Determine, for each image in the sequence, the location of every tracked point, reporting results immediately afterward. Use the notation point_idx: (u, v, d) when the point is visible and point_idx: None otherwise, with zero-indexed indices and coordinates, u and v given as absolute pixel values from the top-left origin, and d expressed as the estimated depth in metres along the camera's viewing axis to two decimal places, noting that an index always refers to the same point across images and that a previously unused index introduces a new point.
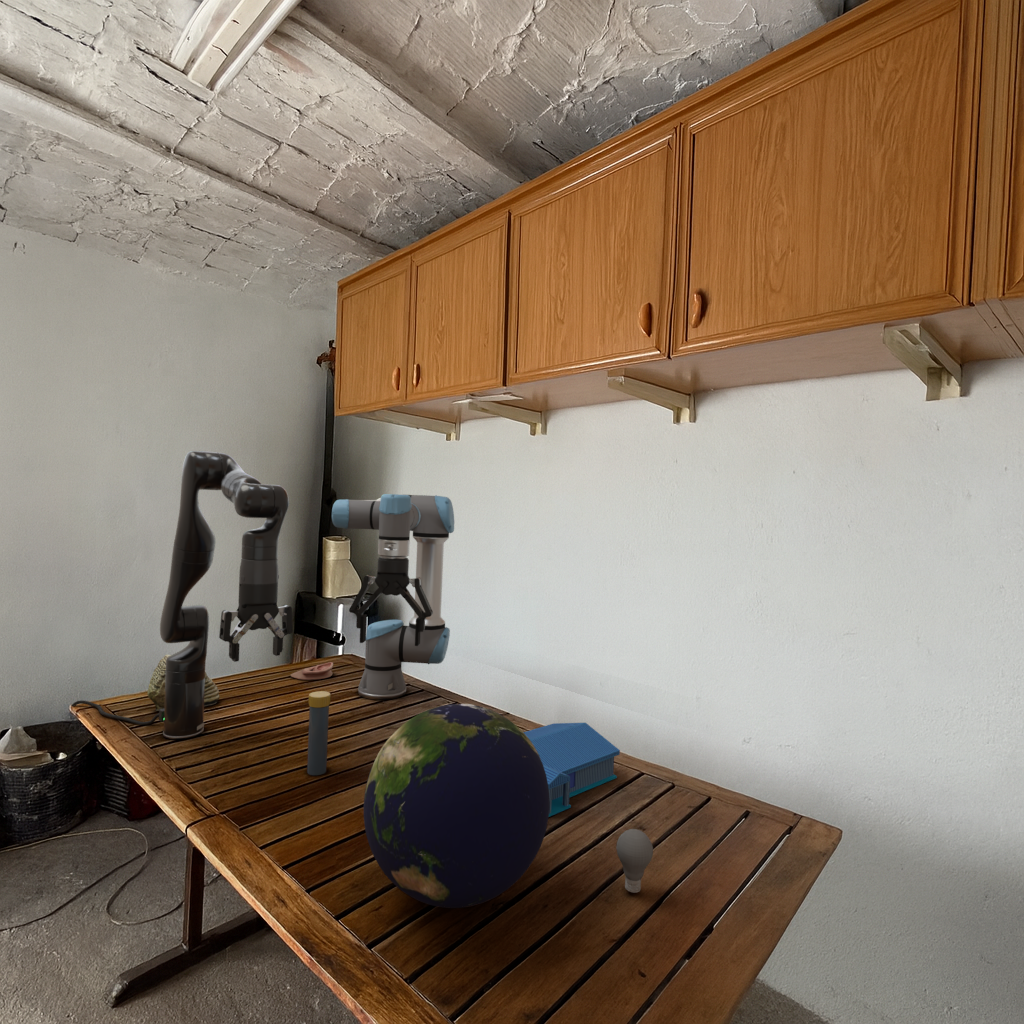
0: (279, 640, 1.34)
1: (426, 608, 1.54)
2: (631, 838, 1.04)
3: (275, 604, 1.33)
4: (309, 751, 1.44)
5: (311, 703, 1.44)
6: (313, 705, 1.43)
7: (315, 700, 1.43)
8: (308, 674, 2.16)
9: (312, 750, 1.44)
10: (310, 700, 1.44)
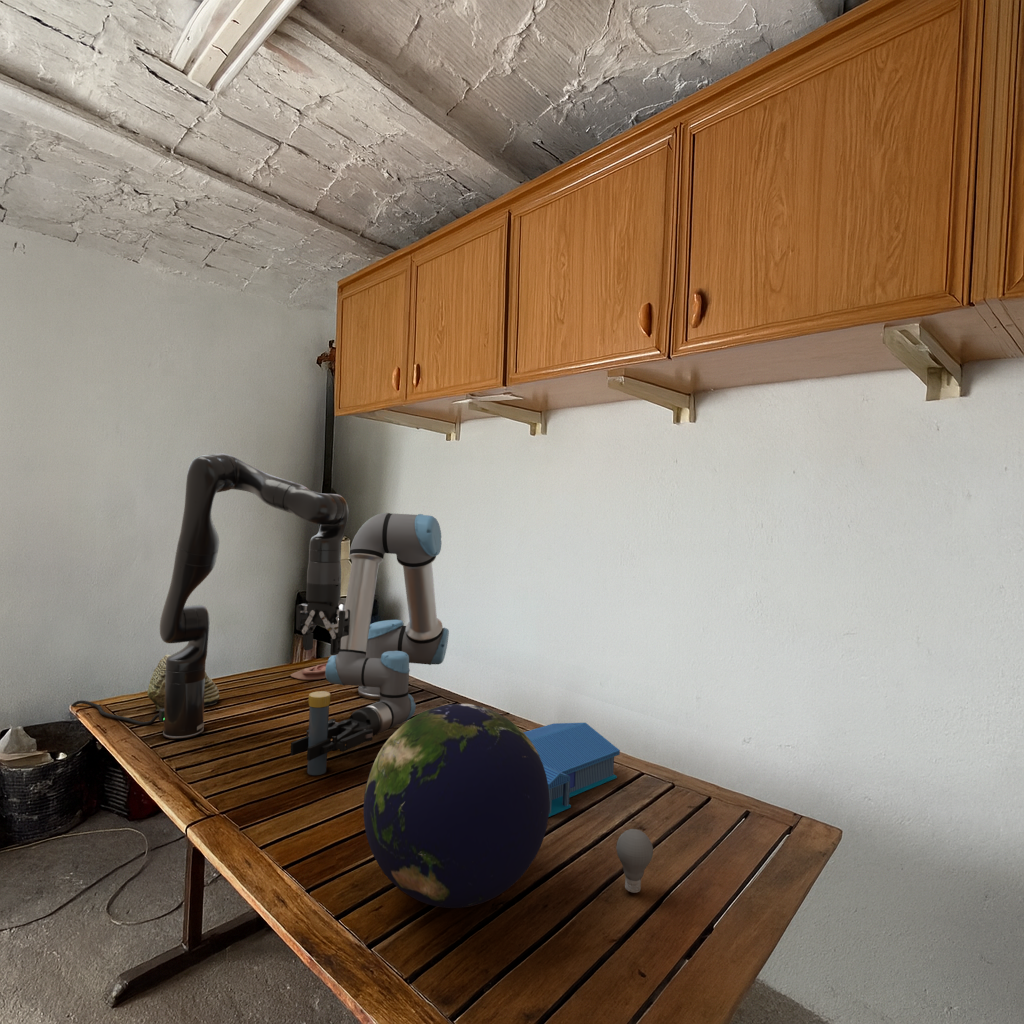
0: None
1: None
2: (631, 838, 1.04)
3: None
4: None
5: (311, 703, 1.44)
6: (313, 705, 1.43)
7: (315, 700, 1.43)
8: (308, 674, 2.16)
9: None
10: (310, 700, 1.44)
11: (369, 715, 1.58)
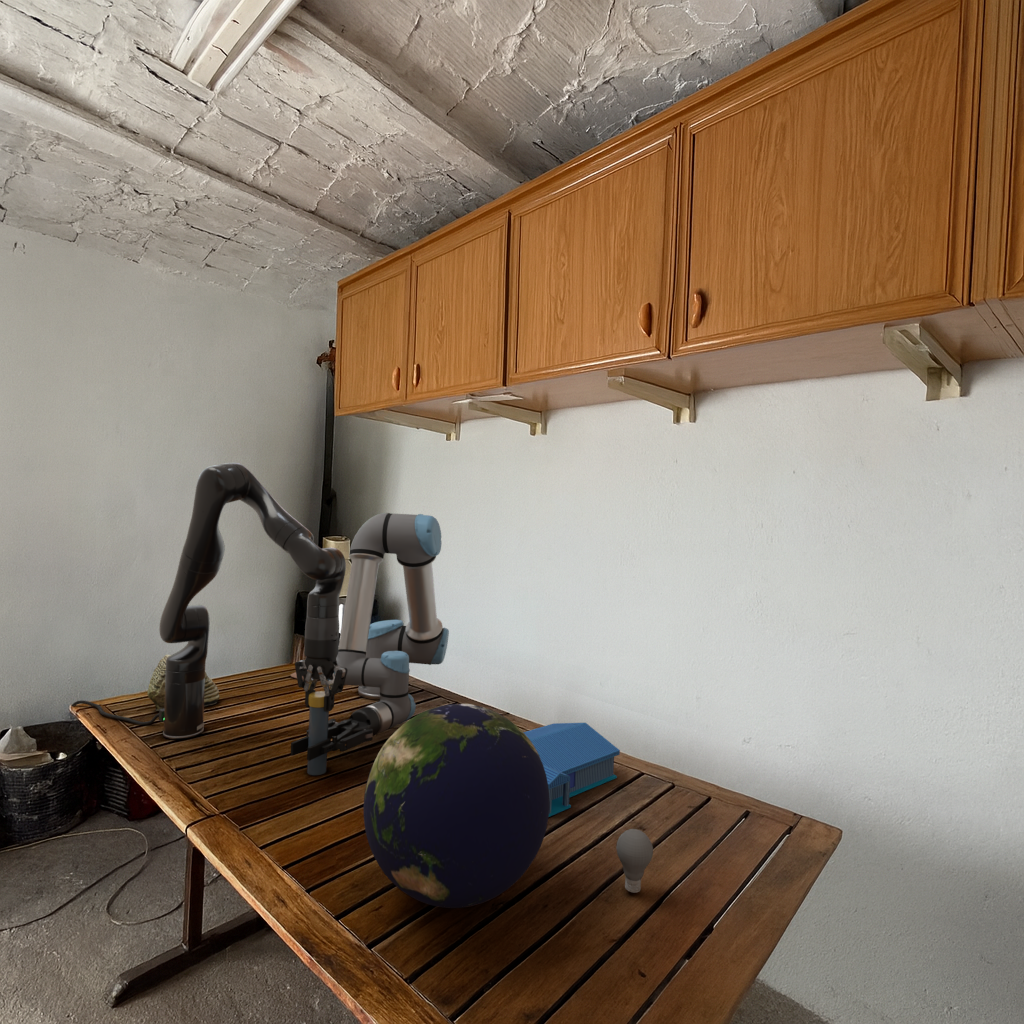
0: None
1: None
2: (631, 838, 1.04)
3: None
4: None
5: (311, 703, 1.44)
6: (313, 705, 1.43)
7: (315, 700, 1.43)
8: None
9: None
10: (310, 700, 1.44)
11: (369, 715, 1.58)
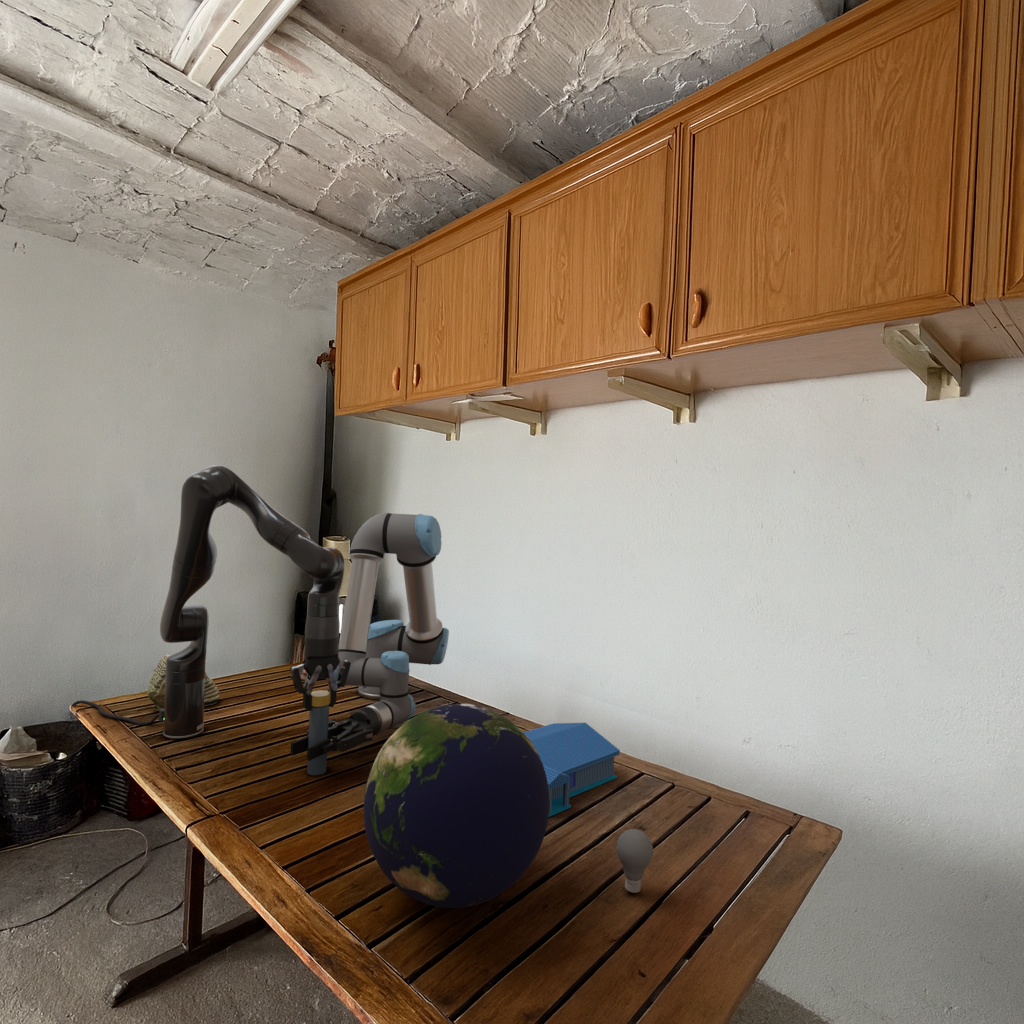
0: None
1: None
2: (631, 838, 1.04)
3: None
4: None
5: (322, 703, 1.44)
6: (324, 704, 1.44)
7: (326, 698, 1.44)
8: None
9: None
10: (320, 700, 1.43)
11: (369, 715, 1.58)
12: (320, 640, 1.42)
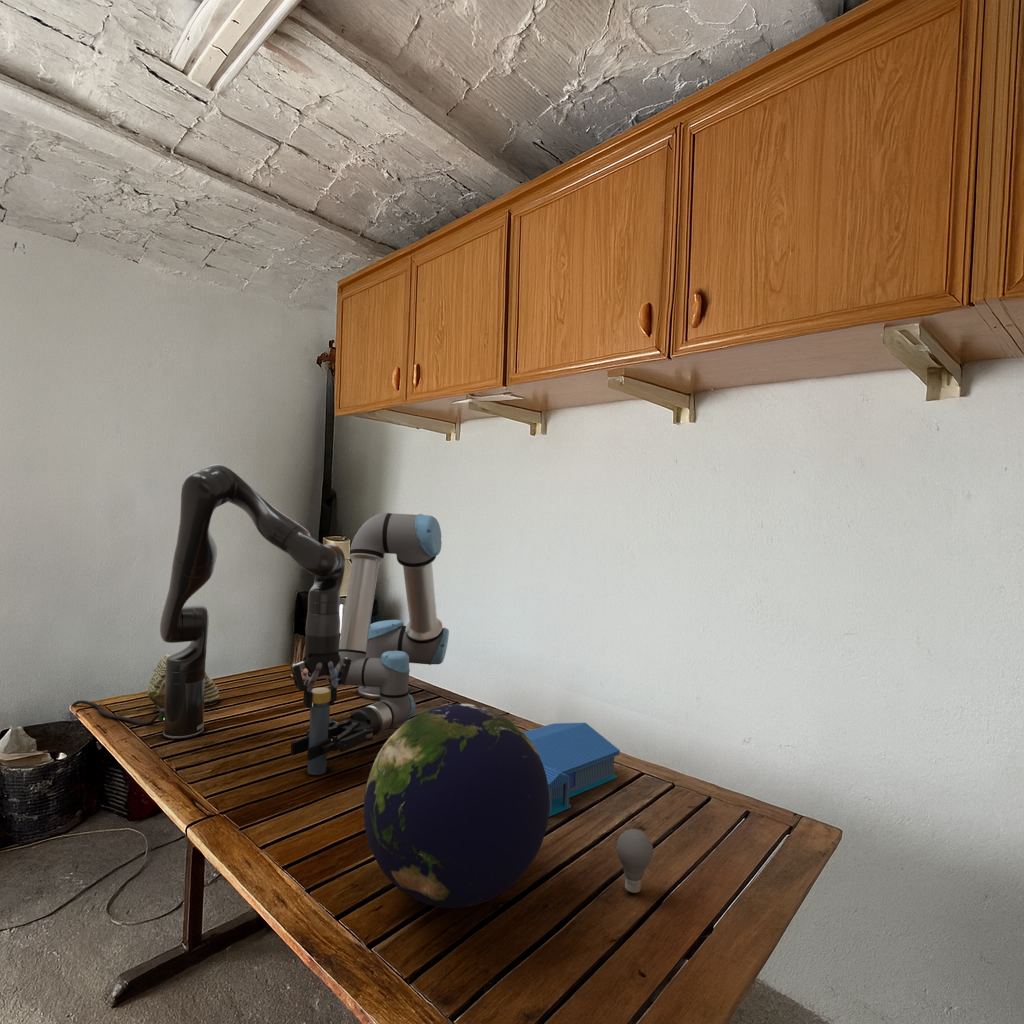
0: None
1: None
2: (631, 838, 1.04)
3: None
4: None
5: (330, 697, 1.46)
6: (330, 698, 1.47)
7: None
8: None
9: None
10: (330, 695, 1.46)
11: (369, 715, 1.58)
12: (321, 637, 1.42)
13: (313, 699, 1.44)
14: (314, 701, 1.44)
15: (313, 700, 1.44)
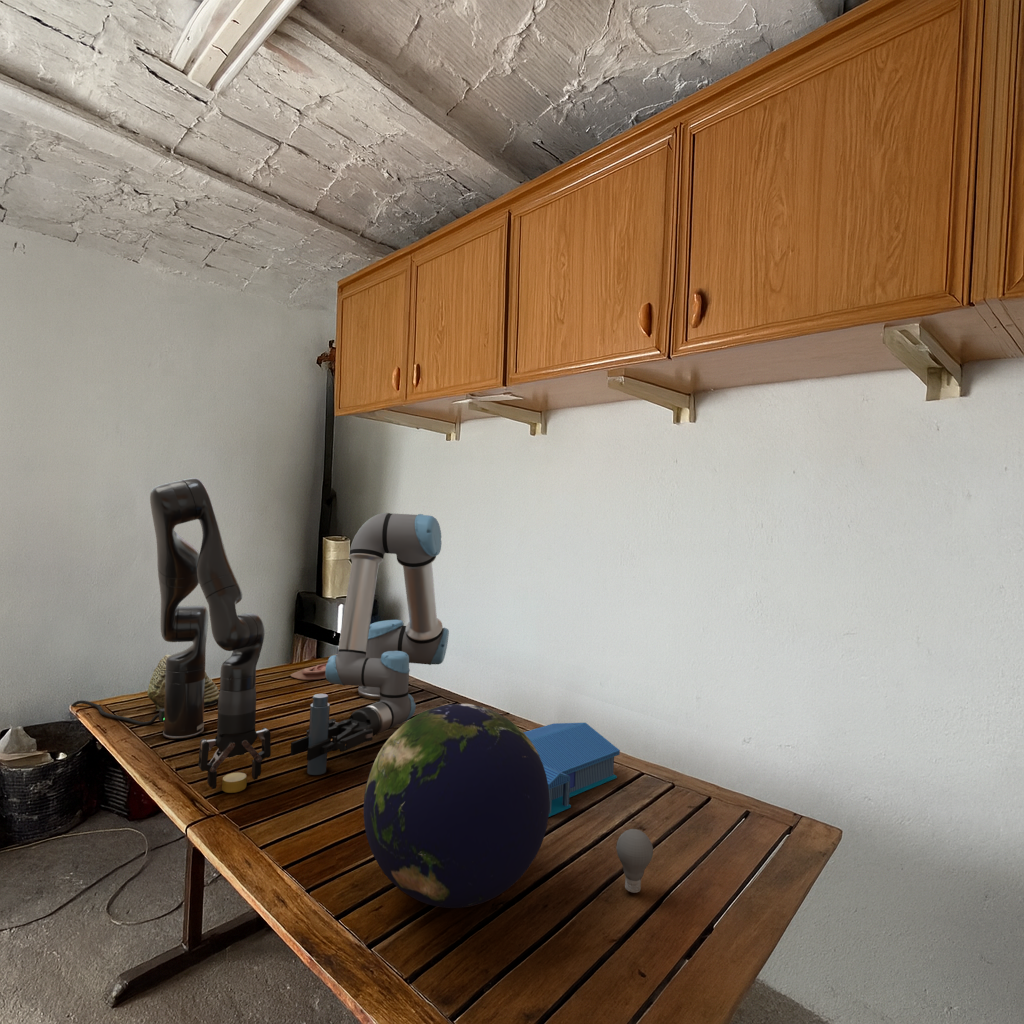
0: None
1: None
2: (631, 838, 1.04)
3: None
4: None
5: (245, 784, 1.36)
6: (246, 784, 1.37)
7: None
8: (308, 674, 2.16)
9: None
10: (245, 782, 1.36)
11: (369, 715, 1.58)
12: (232, 716, 1.32)
13: (225, 788, 1.34)
14: (226, 790, 1.34)
15: (225, 789, 1.34)
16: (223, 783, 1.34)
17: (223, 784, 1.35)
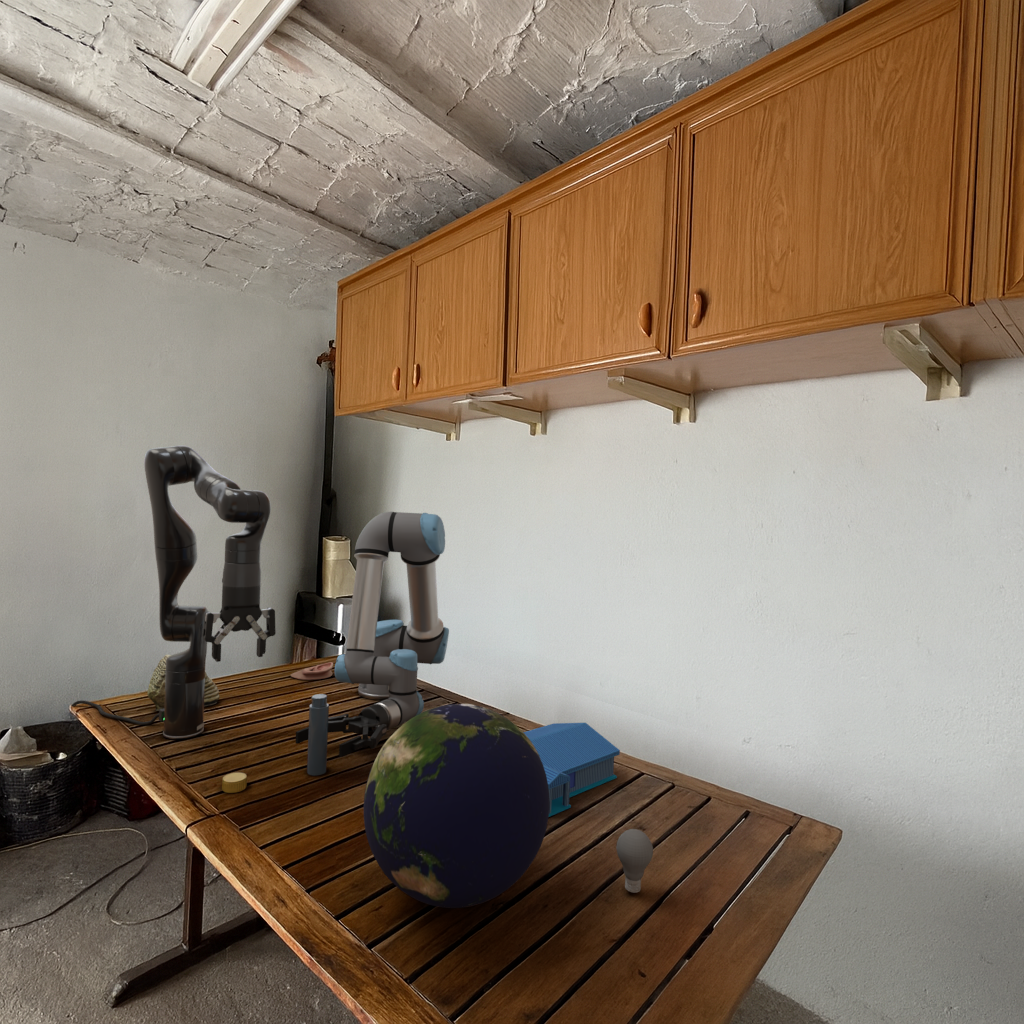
0: None
1: None
2: (631, 838, 1.04)
3: None
4: (309, 751, 1.44)
5: (245, 784, 1.36)
6: (246, 784, 1.37)
7: None
8: (308, 674, 2.16)
9: (312, 751, 1.44)
10: (245, 782, 1.36)
11: (378, 712, 1.61)
12: (237, 588, 1.32)
13: (225, 788, 1.34)
14: (226, 790, 1.34)
15: (225, 789, 1.34)
16: (223, 783, 1.34)
17: (223, 784, 1.35)
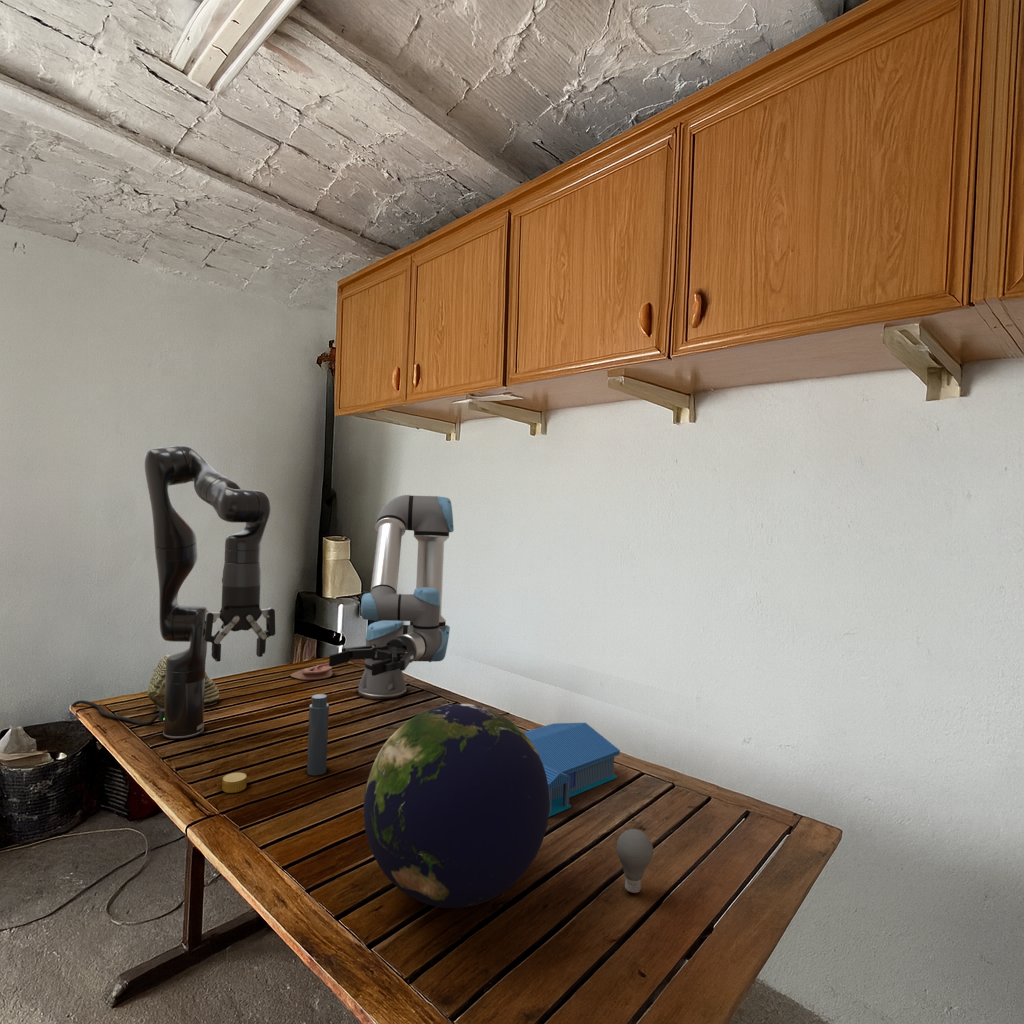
0: None
1: None
2: (631, 838, 1.04)
3: None
4: (309, 751, 1.44)
5: (245, 784, 1.36)
6: (246, 784, 1.37)
7: None
8: (308, 674, 2.16)
9: (312, 751, 1.44)
10: (245, 782, 1.36)
11: (405, 641, 1.70)
12: (237, 588, 1.32)
13: (225, 788, 1.34)
14: (226, 790, 1.34)
15: (225, 789, 1.34)
16: (223, 783, 1.34)
17: (223, 784, 1.35)
